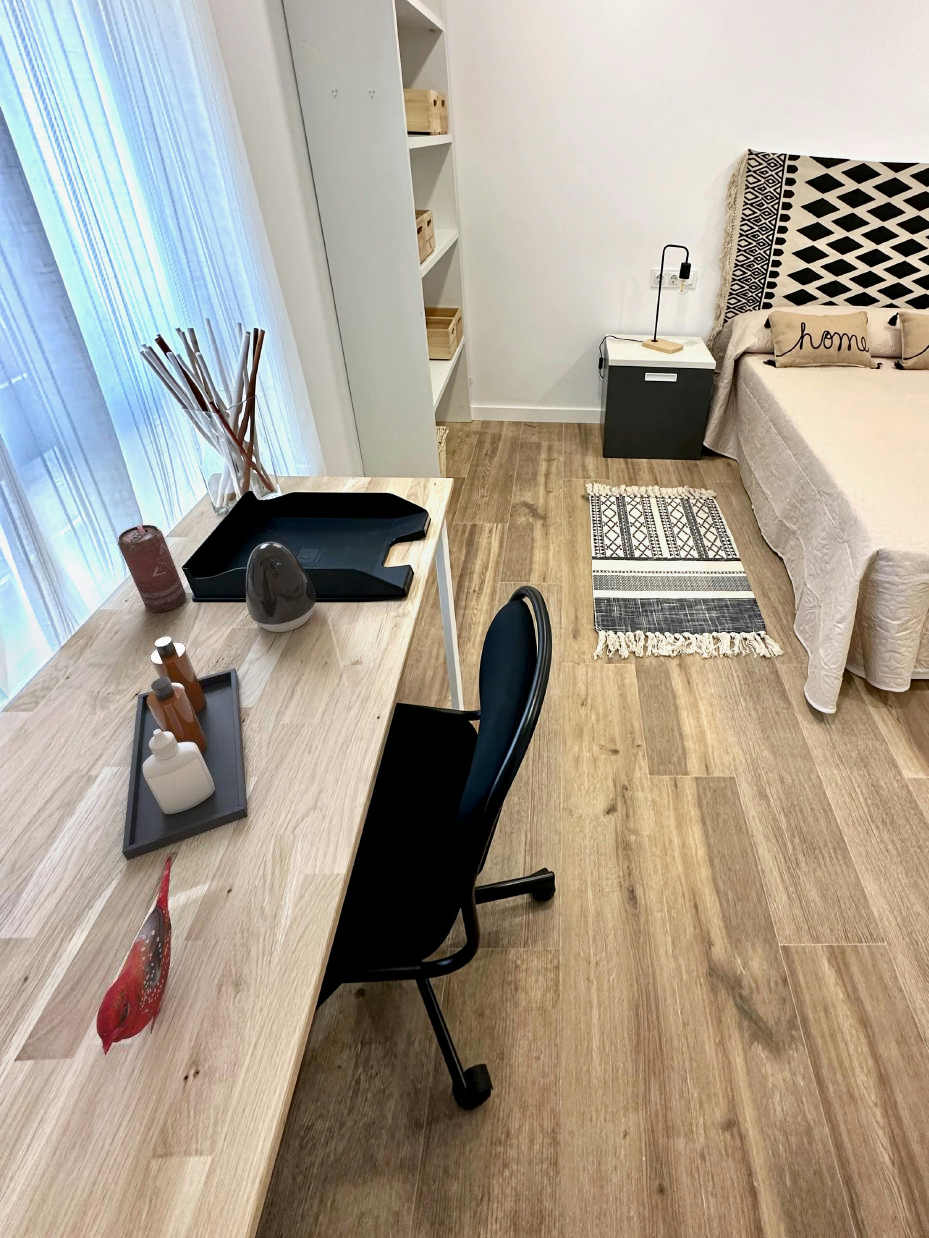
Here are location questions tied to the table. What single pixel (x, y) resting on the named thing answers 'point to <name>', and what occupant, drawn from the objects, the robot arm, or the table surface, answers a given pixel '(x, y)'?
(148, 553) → the can
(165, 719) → the amber bottle
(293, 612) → the dark grey rounded cone
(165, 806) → the eye dropper bottle
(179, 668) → the amber bottle
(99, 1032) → the decorative bird figurine
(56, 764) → the table surface
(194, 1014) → the table surface
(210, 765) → the tray
